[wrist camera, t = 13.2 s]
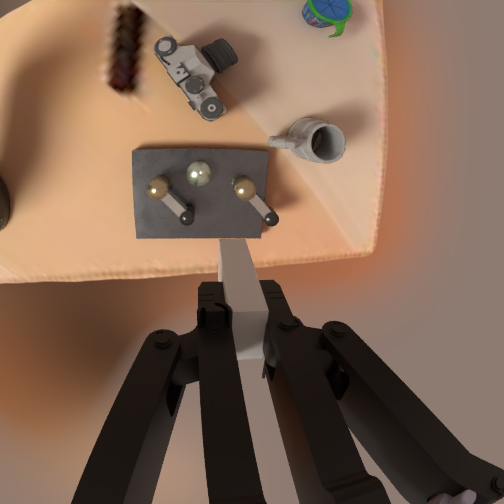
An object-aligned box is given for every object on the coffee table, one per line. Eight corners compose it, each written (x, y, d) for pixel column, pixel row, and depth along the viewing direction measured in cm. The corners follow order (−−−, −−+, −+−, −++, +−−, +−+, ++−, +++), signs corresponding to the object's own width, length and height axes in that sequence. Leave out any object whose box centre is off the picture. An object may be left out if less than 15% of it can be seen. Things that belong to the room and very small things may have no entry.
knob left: (186, 222, 48) (184, 231, 45) (147, 184, 44) (142, 190, 41) (199, 210, 48) (198, 218, 44) (160, 171, 44) (156, 176, 40)
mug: (325, 157, 49) (356, 170, 39) (263, 160, 48) (280, 173, 37) (325, 117, 46) (357, 120, 35) (261, 118, 44) (278, 118, 34)
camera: (255, 94, 42) (268, 88, 33) (205, 125, 44) (205, 126, 35) (206, 26, 35) (206, 6, 26) (155, 58, 36) (143, 44, 28)
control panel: (138, 234, 50) (134, 242, 47) (134, 149, 43) (129, 151, 40) (258, 234, 54) (262, 242, 51) (266, 150, 47) (271, 153, 44)
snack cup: (287, -7, 33) (300, -23, 27) (325, -8, 33) (341, -22, 27) (304, 43, 39) (320, 33, 32) (342, 40, 39) (361, 32, 32)
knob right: (264, 223, 51) (269, 231, 47) (229, 184, 47) (231, 190, 43) (278, 212, 50) (284, 219, 47) (244, 172, 46) (247, 177, 43)
